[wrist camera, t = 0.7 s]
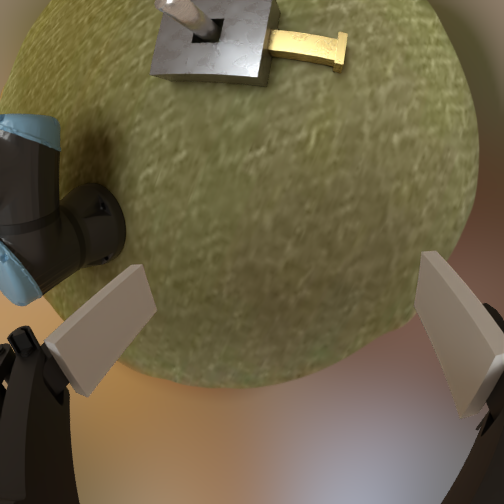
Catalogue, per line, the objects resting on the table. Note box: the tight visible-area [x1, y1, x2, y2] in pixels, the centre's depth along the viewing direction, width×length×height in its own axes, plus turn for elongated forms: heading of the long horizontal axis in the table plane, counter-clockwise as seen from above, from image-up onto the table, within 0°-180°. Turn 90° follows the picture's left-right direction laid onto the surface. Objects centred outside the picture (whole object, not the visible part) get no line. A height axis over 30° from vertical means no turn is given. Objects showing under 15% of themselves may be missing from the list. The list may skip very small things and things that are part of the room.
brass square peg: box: [267, 29, 347, 73], centre depth 26 cm, size 10×4×4 cm, turn 81°
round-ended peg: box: [155, 0, 222, 43], centre depth 23 cm, size 3×3×16 cm
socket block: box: [150, 0, 280, 87], centre depth 27 cm, size 14×12×6 cm
